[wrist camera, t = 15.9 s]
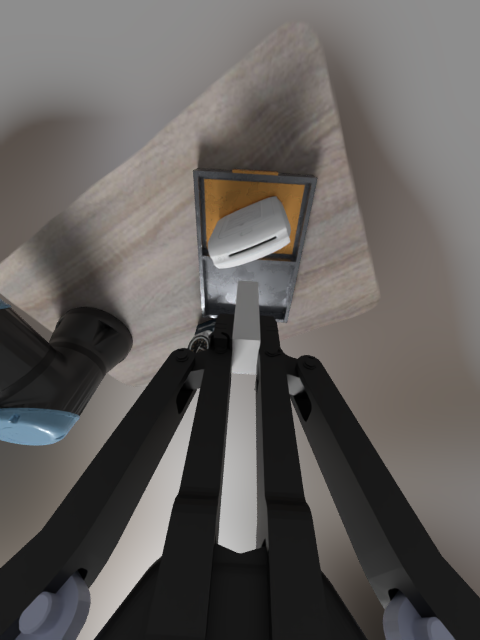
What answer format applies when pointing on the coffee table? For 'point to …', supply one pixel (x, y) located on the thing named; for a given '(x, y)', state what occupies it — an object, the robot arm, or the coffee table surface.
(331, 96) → the coffee table surface
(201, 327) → the watch
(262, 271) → the tray
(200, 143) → the coffee table surface
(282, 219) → the photo printer
